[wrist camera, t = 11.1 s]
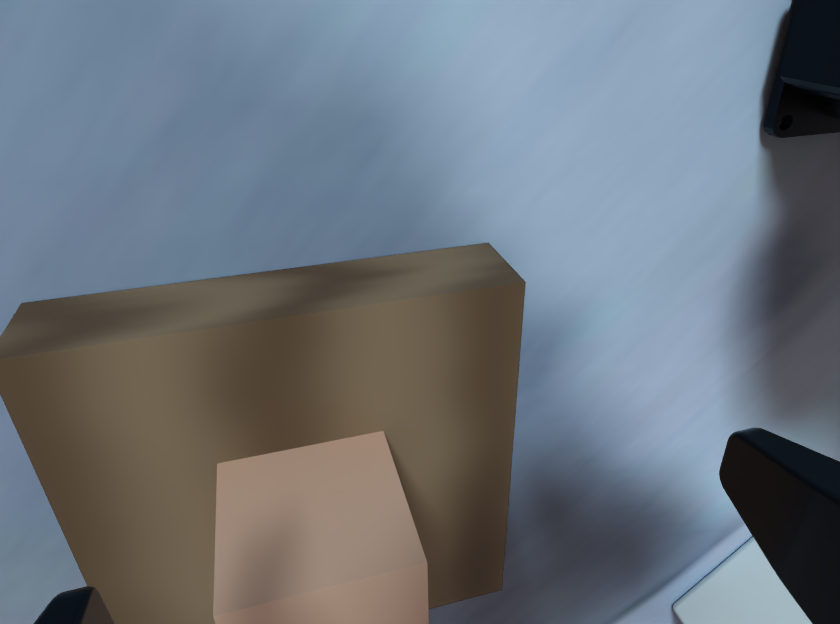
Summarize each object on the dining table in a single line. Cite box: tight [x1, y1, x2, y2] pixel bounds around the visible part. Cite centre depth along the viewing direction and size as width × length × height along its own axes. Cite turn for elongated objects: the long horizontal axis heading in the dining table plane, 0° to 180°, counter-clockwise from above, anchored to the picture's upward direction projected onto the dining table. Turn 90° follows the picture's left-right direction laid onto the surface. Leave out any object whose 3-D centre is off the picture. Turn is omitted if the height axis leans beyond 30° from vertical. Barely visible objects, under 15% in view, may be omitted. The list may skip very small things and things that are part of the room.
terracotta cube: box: [213, 431, 429, 624], centre depth 17 cm, size 5×5×5 cm
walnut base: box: [0, 243, 525, 624], centre depth 21 cm, size 14×14×3 cm
